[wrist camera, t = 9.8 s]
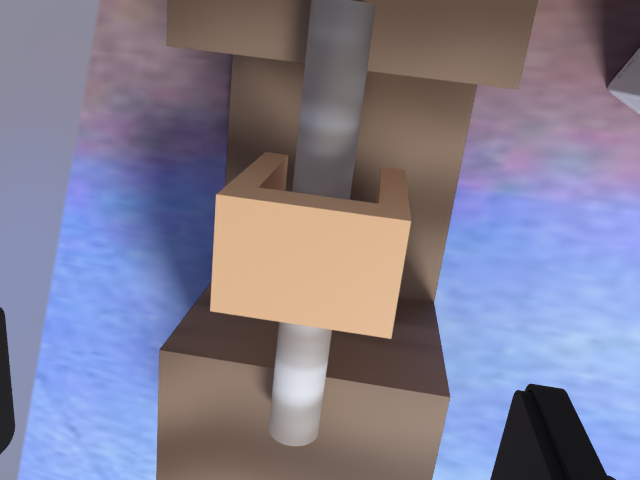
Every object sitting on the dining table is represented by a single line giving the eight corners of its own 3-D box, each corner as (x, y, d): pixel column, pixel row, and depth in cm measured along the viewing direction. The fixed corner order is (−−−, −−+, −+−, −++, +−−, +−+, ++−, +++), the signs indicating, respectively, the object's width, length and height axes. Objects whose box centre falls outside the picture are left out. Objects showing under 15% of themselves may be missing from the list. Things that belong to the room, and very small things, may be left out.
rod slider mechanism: (248, -111, 27) (145, -224, 16) (506, -85, 26) (596, -184, 15) (218, 368, 36) (138, 518, 24) (412, 400, 35) (422, 571, 23)
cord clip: (265, 151, 25) (215, 194, 18) (404, 170, 24) (411, 221, 17) (258, 239, 26) (210, 311, 19) (390, 258, 26) (391, 338, 19)
